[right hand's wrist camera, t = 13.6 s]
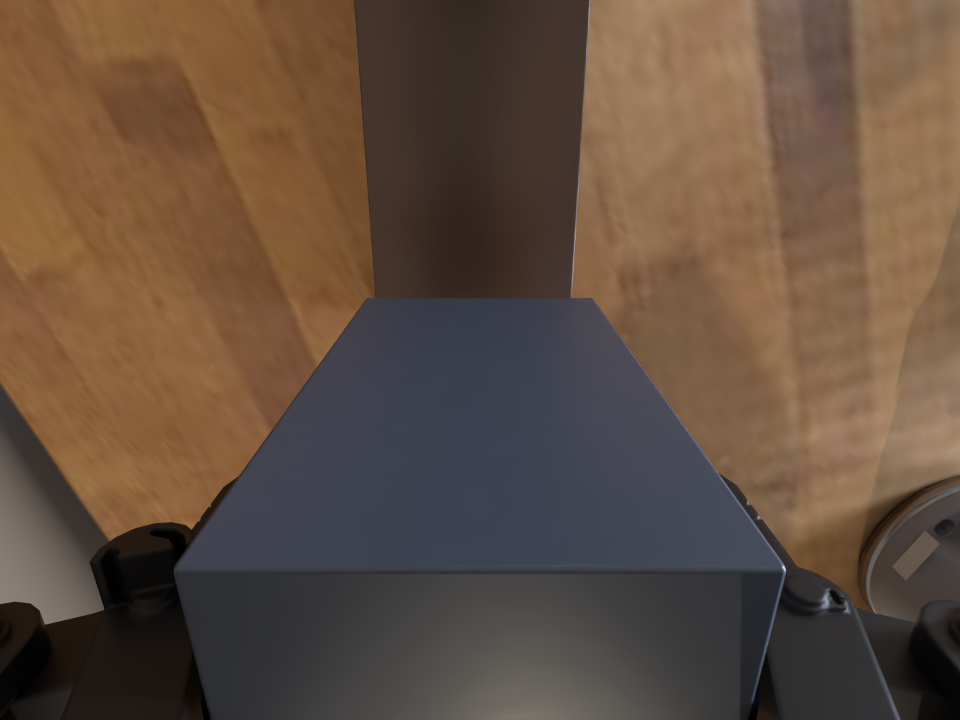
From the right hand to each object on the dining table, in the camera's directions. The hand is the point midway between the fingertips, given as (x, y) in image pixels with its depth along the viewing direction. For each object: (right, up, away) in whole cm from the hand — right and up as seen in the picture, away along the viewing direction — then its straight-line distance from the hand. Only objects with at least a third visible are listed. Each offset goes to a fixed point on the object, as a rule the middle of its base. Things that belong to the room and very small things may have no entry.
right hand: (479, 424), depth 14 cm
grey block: (0, +1, +1) cm, 1 cm away
